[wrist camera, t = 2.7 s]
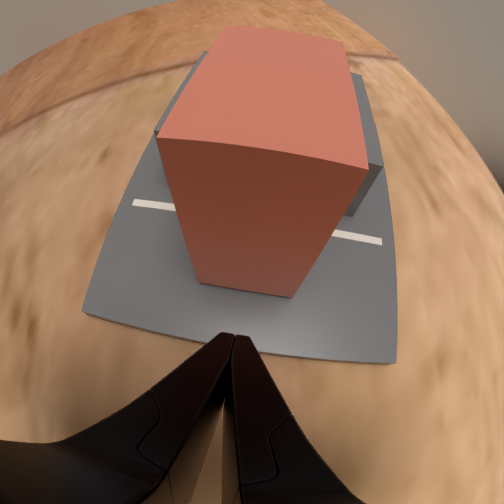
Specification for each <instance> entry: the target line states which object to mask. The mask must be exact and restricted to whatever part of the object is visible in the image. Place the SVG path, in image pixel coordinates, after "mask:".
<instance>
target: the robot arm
mask: <svg viewBox="0 0 504 504" xmlns="http://www.w3.org/2000/svg"><path fill="white" fill-rule="evenodd" d="M224 399H225V400H224ZM223 403H224V410H223V443H222V504H366V503H364V502H363V501H361V500H360V499H358V498H357V497H356V496H355V495H354V494H353V493H351V491H350V490H349V489H348V488H347V487H346V486H345V485H344V484H343V483H342V481H341V480H340V479H339V478H338V477H337V476H336V474H335V473H334V472H333V471H332V470H331V468H330V467H329V466H328V465H327V464H326V462H325V461H324V460H323V459H322V458H321V456H320V455H319V454H318V453H317V451H316V450H315V449H314V447H313V446H312V445H311V443H310V442H309V441H308V439H307V438H306V436H305V434H304V433H303V431H302V430H301V428H300V427H299V425H298V423H297V421H296V420H295V418H294V416H293V415H292V413H291V411H290V409H289V407H288V406H287V404H286V402H285V400H284V399H283V397H282V395H281V393H280V391H279V390H278V388H277V386H276V384H275V382H274V381H273V379H272V377H271V375H270V373H269V371H268V370H267V368H266V366H265V364H264V362H263V360H262V358H261V357H260V355H259V353H258V351H257V349H256V347H255V345H254V343H253V341H252V340H251V338H250V337H249V336H245V335H239V334H237V335H236V336H235V335H234V334H233V333H227V332H220V333H219V334H218V335H216V336H215V337H214V338H213V339H211V340H210V341H209V342H208V343H207V344H205V345H204V346H203V347H202V348H201V349H199V350H198V351H197V352H196V353H194V354H193V355H192V356H191V357H189V358H188V359H187V360H186V361H184V362H183V363H182V364H181V365H179V366H178V367H177V368H176V369H174V370H173V371H172V372H171V373H169V374H168V375H167V376H166V377H164V378H163V379H162V380H161V381H159V382H158V383H157V384H155V385H154V386H153V387H152V388H150V390H147V391H146V392H145V393H144V394H142V395H141V396H140V397H138V398H137V399H135V400H134V401H133V402H131V403H130V404H128V405H127V406H126V407H124V408H122V409H121V410H119V411H117V412H116V413H114V414H112V415H111V416H109V417H107V418H105V419H103V420H101V421H100V422H98V423H96V424H94V425H92V426H90V427H88V428H86V429H85V430H83V431H81V432H79V433H77V434H75V435H73V436H71V437H69V438H66V439H64V440H61V441H57V442H53V443H26V442H14V441H5V440H0V504H189V502H190V499H191V496H192V494H193V491H194V488H195V485H196V482H197V480H198V477H199V474H200V471H201V468H202V466H203V463H204V460H205V457H206V454H207V451H208V448H209V445H210V443H211V440H212V437H213V434H214V431H215V428H216V425H217V422H218V419H219V416H220V413H221V410H222V407H223Z"/></svg>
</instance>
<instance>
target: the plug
mask: <svg viewBox="0 0 504 504" xmlns="http://www.w3.org/2000/svg"><path fill="white" fill-rule="evenodd" d="M156 139H157V143H158V147H159V151H160V155H161V158H162V162H163V166H164V170H165V174H166V177H167V181H168V185H169V188H170V192H171V195H172V199H173V202H174V206H175V209H176V213H177V216H178V219H179V223H180V226H181V229H182V233H183V236H184V239H185V242H186V246H187V249H188V252H189V255H190V258H191V261H192V264H193V267H194V270H195V274H196V277H197V280H198V282H199V283H204V284H210V285H216V286H222V287H227V288H233V289H239V290H245V291H252V292H258V293H264V294H271V295H277V296H284V297H291V298H293V296H294V295H295V293H296V292H297V290H298V288H299V287H300V285H301V284H302V282H303V281H304V279H305V278H306V276H307V274H308V273H309V271H310V270H311V268H312V266H313V265H314V263H315V262H316V260H317V258H318V257H319V255H320V253H321V252H322V250H323V249H324V247H325V245H326V244H327V242H328V240H329V239H330V237H331V235H332V234H333V232H334V230H335V229H336V227H337V225H338V224H339V222H340V220H341V218H342V217H343V215H344V213H345V212H346V210H347V208H348V206H349V205H350V203H351V201H352V199H353V198H354V196H355V194H356V192H357V190H358V189H359V187H360V185H361V183H362V182H363V180H364V178H365V176H366V174H367V172H368V171H369V167H368V159H367V153H366V146H365V140H364V134H363V128H362V123H361V118H360V113H359V108H358V103H357V98H356V94H355V89H354V85H353V81H352V76H351V72H350V69H349V65H348V61H347V57H346V53H345V50H344V46H343V43H342V42H338V41H334V40H330V39H326V38H321V37H316V36H311V35H306V34H301V33H295V32H289V31H282V30H275V29H266V28H257V27H246V26H230V25H228V26H227V27H226V28H225V30H224V31H223V32H222V34H221V35H220V36H219V38H218V39H217V40H216V42H215V43H214V44H213V46H212V47H211V49H210V50H209V52H208V53H207V54H206V56H205V57H204V59H203V60H202V62H201V63H200V65H199V66H198V68H197V69H196V71H195V72H194V74H193V75H192V77H191V79H190V80H189V82H188V83H187V85H186V86H185V88H184V90H183V91H182V93H181V95H180V96H179V98H178V100H177V101H176V103H175V105H174V106H173V108H172V110H171V112H170V113H169V115H168V117H167V119H166V120H165V122H164V124H163V126H162V128H161V129H160V131H159V133H158V135H157V137H156Z"/></svg>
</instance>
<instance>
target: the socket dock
mask: <svg viewBox="0 0 504 504" xmlns="http://www.w3.org/2000/svg"><path fill="white" fill-rule="evenodd" d="M208 52H209V51H204V52H203V54H202V55H201V56H200V58H199V59H198V61H197V62H196V63H195V65H194V66H193V68H192V69H191V71H190V72H189V74H188V75H187V77H186V78H185V80H184V81H183V83H182V84H181V86H180V87H179V89H178V91H177V92H176V94H175V95H174V97H173V99H172V100H171V102H170V103H169V105H168V107H167V108H166V110H165V112H164V113H163V115H162V117H161V119H160V120H159V122H158V124H157V126H156V127H155V129H154V134H153V136H152V138H151V140H150V142H149V143H148V145H147V147H146V149H145V151H144V153H143V155H142V157H141V159H140V161H139V163H138V165H137V167H136V169H135V171H134V173H133V175H132V177H131V179H130V182H129V184H128V186H127V188H126V190H125V193H124V195H123V197H122V199H121V202H120V204H119V206H118V209H117V211H116V213H115V216H114V218H113V221H112V223H111V225H110V228H109V231H108V233H107V236H106V238H105V241H104V244H103V246H102V249H101V252H100V254H99V257H98V260H97V263H96V266H95V269H94V272H93V275H92V278H91V281H90V284H89V287H88V291H87V294H86V297H85V301H84V304H83V308H82V312H84V313H86V314H87V315H91V316H94V317H97V318H101V319H104V320H108V321H111V322H115V323H118V324H122V325H126V326H129V327H133V328H137V329H141V330H145V331H149V332H153V333H157V334H162V335H166V336H170V337H175V338H179V339H184V340H189V341H194V342H199V343H204V344H207V343H208V342H209V341H210V340H211V339H213V338H214V337H215V336H216V335H218V334H219V333H220V332H227V333H233V334H234V335H235V336H236V335H237V334H239V335H245V336H249V337H250V338H251V340H252V341H253V343H254V345H255V347H256V349H257V351H258V353H263V354H270V355H278V356H286V357H294V358H303V359H313V360H323V361H335V362H349V363H366V364H394V363H396V353H397V277H396V259H395V246H394V235H393V225H392V216H391V208H390V201H389V194H388V187H387V181H386V175H385V169H384V163H383V158H382V153H381V148H380V143H379V138H378V134H377V129H376V125H375V123H374V120H373V116H372V112H371V108H370V104H369V100H368V97H367V93H366V89H365V86H364V82H363V79H362V76H361V75H358V74H355V73H351V76H352V81H353V85H354V89H355V94H356V98H357V103H358V108H359V113H360V118H361V123H362V128H363V134H364V140H365V146H366V153H367V159H368V167H369V171H368V172H367V174H366V176H365V178H364V180H363V182H362V183H361V185H360V187H359V189H358V190H357V192H356V194H355V196H354V198H353V199H352V201H351V203H350V205H349V206H348V208H347V210H346V212H345V213H344V215H343V217H342V218H341V220H340V222H339V224H338V225H337V227H336V229H335V230H334V232H333V234H332V235H331V237H330V239H329V240H328V242H327V244H326V245H325V247H324V249H323V250H322V252H321V253H320V255H319V257H318V258H317V260H316V262H315V263H314V265H313V266H312V268H311V270H310V271H309V273H308V274H307V276H306V278H305V279H304V281H303V282H302V284H301V285H300V287H299V288H298V290H297V292H296V293H295V295H294V296H293V298H291V297H284V296H277V295H271V294H264V293H258V292H252V291H245V290H239V289H233V288H227V287H222V286H216V285H210V284H204V283H199V282H198V280H197V277H196V274H195V270H194V267H193V264H192V261H191V258H190V255H189V252H188V249H187V246H186V242H185V239H184V236H183V233H182V229H181V226H180V223H179V219H178V216H177V213H176V209H175V206H174V202H173V199H172V195H171V192H170V188H169V185H168V181H167V177H166V174H165V170H164V166H163V162H162V158H161V155H160V151H159V147H158V143H157V139H156V137H157V135H158V133H159V131H160V129H161V128H162V126H163V124H164V122H165V120H166V119H167V117H168V115H169V113H170V112H171V110H172V108H173V106H174V105H175V103H176V101H177V100H178V98H179V96H180V95H181V93H182V91H183V90H184V88H185V86H186V85H187V83H188V82H189V80H190V79H191V77H192V75H193V74H194V72H195V71H196V69H197V68H198V66H199V65H200V63H201V62H202V60H203V59H204V57H205V56H206V54H207V53H208Z"/></svg>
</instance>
